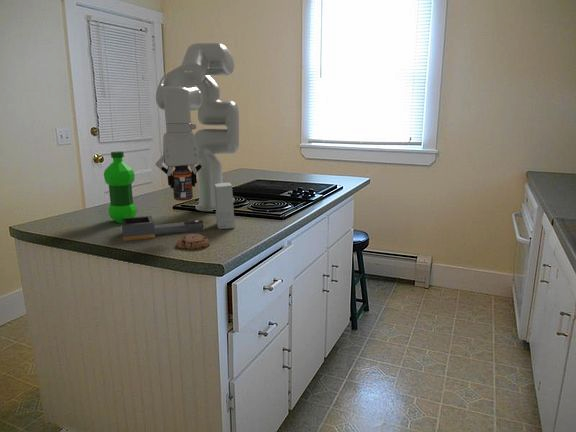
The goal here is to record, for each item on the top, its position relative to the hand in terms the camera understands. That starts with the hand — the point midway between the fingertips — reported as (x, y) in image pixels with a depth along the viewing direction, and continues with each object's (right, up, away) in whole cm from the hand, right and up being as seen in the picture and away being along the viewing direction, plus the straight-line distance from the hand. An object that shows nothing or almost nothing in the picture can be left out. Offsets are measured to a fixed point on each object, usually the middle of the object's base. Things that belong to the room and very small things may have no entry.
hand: (182, 186), depth 145 cm
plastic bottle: (-27, -11, +23) cm, 37 cm away
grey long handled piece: (-8, -15, +8) cm, 19 cm away
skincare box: (+11, -13, +16) cm, 23 cm away
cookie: (+4, -19, -5) cm, 20 cm away
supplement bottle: (0, -4, +1) cm, 4 cm away
